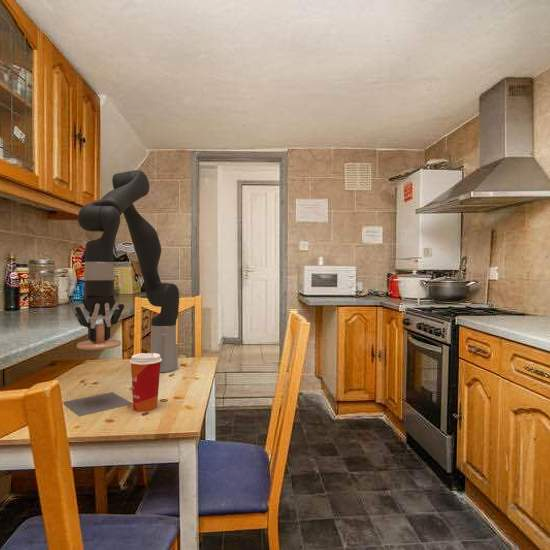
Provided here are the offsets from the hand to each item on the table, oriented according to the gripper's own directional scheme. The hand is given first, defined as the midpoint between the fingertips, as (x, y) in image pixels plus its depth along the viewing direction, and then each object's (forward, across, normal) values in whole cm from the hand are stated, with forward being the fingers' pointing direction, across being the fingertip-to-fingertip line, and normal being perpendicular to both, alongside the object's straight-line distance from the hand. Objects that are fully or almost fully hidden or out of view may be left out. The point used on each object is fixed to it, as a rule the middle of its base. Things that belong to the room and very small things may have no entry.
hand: (99, 340), depth 108 cm
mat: (+18, 0, 0) cm, 18 cm away
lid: (+1, 0, 0) cm, 1 cm away
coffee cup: (+19, -8, +12) cm, 23 cm away
